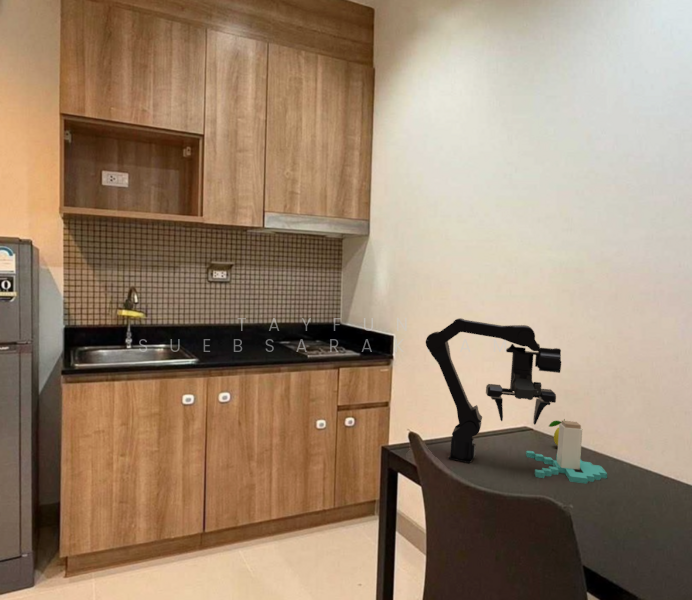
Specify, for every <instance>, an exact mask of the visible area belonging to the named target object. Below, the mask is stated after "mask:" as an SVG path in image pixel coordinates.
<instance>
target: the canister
mask: <svg viewBox="0 0 692 600" xmlns="http://www.w3.org/2000/svg"><path fill="white" fill-rule="evenodd" d="M558 426H559V427H558V428H559V438H558V445H557V452H556V454H557V463H558V464H559V466H560V467H561V468H569V469H580V459H581V453H582V442H583V429H582V425H581V423H579V422H577V421H571V420H570V421H569V420H565V421H564V420H561V423H560V424H559V425H558Z"/></svg>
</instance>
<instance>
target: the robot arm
mask: <svg viewBox="0 0 692 600" xmlns="http://www.w3.org/2000/svg"><path fill="white" fill-rule="evenodd" d="M460 333H466V334H471V335H479V336H482V337H490V338H496V339H502V340H504V341H506V342H509V343H511V344H510V346H509V347H507V348H506V350H505V351H506V353H511V354H512V355H511V356H512V357H511V358H512V359H511V369H510V370H511V371H510V372H511V373H510V384H509V386H510V387H509V388H508V387H507V388H505V387H502V386H501V385H500V384H493V383H487V384H486V386H485V394H486V396H487V397H490V398H491V400H494V402H495V405H496V407H497V410H498V416H499V420H500V421H501V422H503V419H504V413H503V411H504V409H503V398H502V395H503V396H504V395H505V396H506V395H507V396H514V397H515V399H518V400H522V399H524V400H527V401H533V400H534V398H535V406H534V413H533V425H537V422H538V420H539V418H540V416H541V414H542V411H543V410H544V409H545V407H547V406H550V405H551V404H552V403H556V401H557V395H556V392H554V391H553V390H552V389H551V388H550V389H549V388H547V389H546V388H542V383H541V382H538V381H534V382H533V366H534V367H536V368H537V369H538V372H548V373H559V374H560V373H561V371H562V370H561V369H562V361H561V359H562V356H561V352H562V350H561V348H557V347H556V348H555V347H554V348H549V347H541V346H540V344H539V343H538V342H537V341H536V334H535V331H534V330H533V329H532V327H530V325H529V326H528V325H525V324H524V325H522V324H521V325H520V324H519V325H515V324H514V325H500V324H493V323H489V322H488V323H487V322H481V321H480V322H479V321H474V320H469V319H464V318H462V317H461V318H456V319H455V320H453V322H452V323H450V324H449V325H448V326H446V327H445V328H443V329H441V330H440V331H434V332H431V334H428V335H427V337H426V338H425V346H426V348H427V350H428V351H429V353H430V354H431V356H432V357H433V359H434V360H435V361H436V363H438V366H439V368H440V371H441V373H442V376H443V377H444V381H445V383H446V385H447V388H448V390H449V394H450V395H451V398H452V400H453V402H454V404H455V407H456V414H457V420H458V424H457V425H455V426H454V429H453V431H452V434H451V440H450V454H449V456H448V460H453V461H454V460H455V461H458V462H463V463H466V464H467V463H468V464H470V463H471V462H472V461H474V459H475V458H476V449H477V447H476V446H477V444H476V443H475V436H476V435H478V434H479V433H480V431H481V427H482V421H483V416H482V415H481V413H480V411H479V407H478V405H477V404H476V405H474V406H473V405H472V404H471V402H470V401H469V398H468V397H467V396H468V395H467V394H466V392H465V388H464V386H463V384H462V382H461V380H460V377H459V374H458V372H457V370H456V368H455V365H454V363H453V360H452V357H451V350H450V345H449V341H450V340H452V339H453V338H454V337H455V336H457V335H459V334H460ZM514 344H515V345H518V346H515V345H514ZM526 347H527V348H528V349H530V350H531V351H530V350H529V351H528V350H526ZM534 356H535V359H534ZM534 360H535V361H534Z"/></svg>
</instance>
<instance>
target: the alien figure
mask: <svg viewBox="0 0 692 600" xmlns="http://www.w3.org/2000/svg"><path fill="white" fill-rule="evenodd" d="M525 456H526V458H531V459H534V460H535V461H537V462H543V463H544V465H548V468H547V467H546V468H545V467H541V469H534V477H535V478H540V479H545V477H552V475H557V476H559V473H560V474H565V476H566V477H567V480H568V481H569V482H571V483H578V484H587V485H588V482H591V483H592V482H593V483H595V480H596V481H601V479H607V478H608V473H607V471H606V470H605V469H604V468H603V467H602V465H598V464H593V463H592V462H590V461H583V460H582V458H580V469H569V468H561V467H560V466H559V464H558V463H557V453H556V454H555V459H553V458H552V457H548V456H544V455H543V454H541V453H535V451H532V450H526V451H525ZM550 465H552V466H550Z"/></svg>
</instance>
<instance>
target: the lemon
mask: <svg viewBox="0 0 692 600" xmlns="http://www.w3.org/2000/svg"><path fill="white" fill-rule="evenodd" d="M563 421H566V420H565V418H564V419H563ZM561 422H562V420H561V421H560V420H552V421H551V422H550V424H549V425H548V427H550V428H552V427H556V426H559V425H560V423H561ZM558 438H559V427H557V428H556V429H555V431H554V434H553V442H554V443H555V445H556V446H558Z"/></svg>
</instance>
